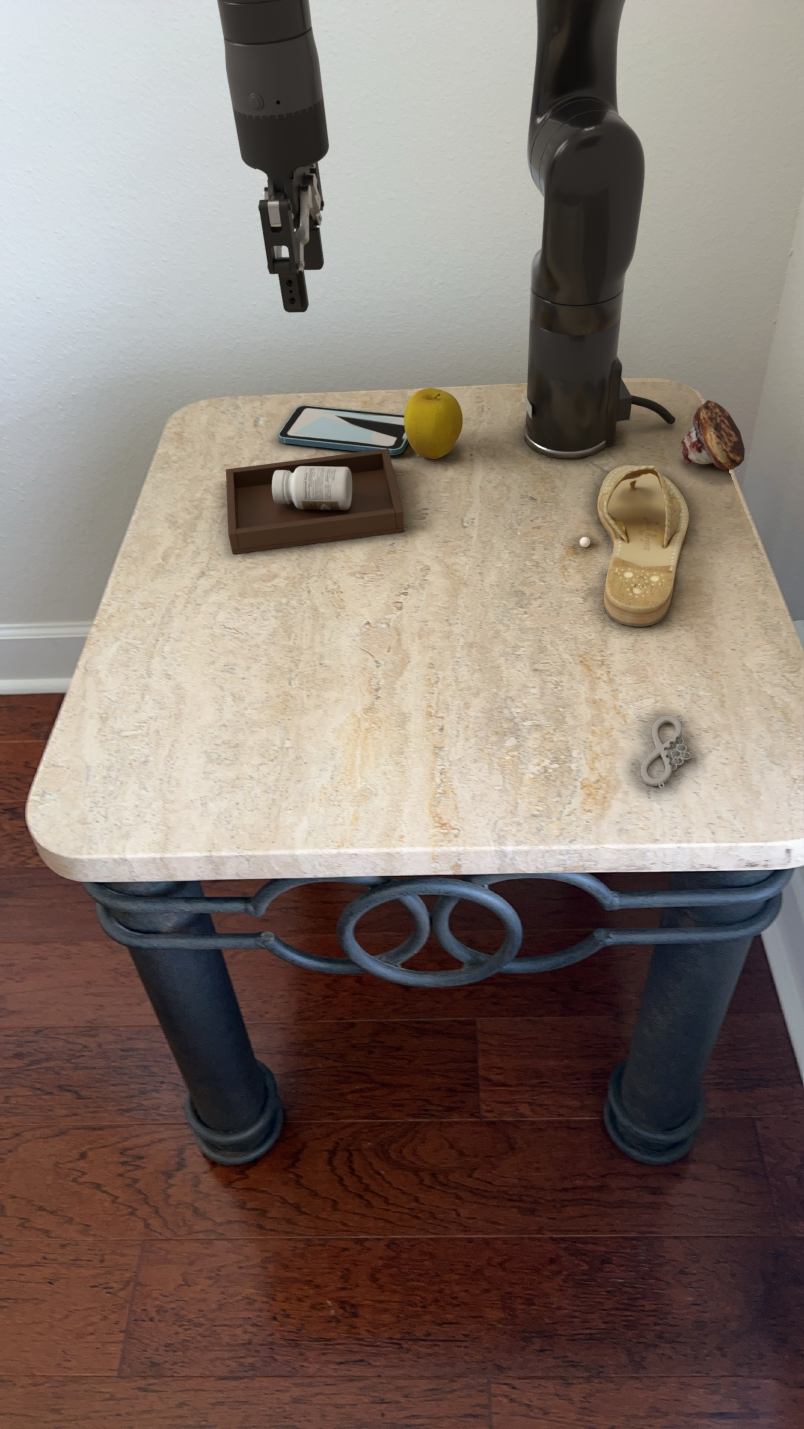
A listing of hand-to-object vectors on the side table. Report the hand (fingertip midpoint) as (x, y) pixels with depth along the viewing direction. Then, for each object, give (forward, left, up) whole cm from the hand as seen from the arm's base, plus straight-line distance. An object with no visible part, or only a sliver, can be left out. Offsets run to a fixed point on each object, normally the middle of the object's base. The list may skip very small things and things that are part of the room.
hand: (305, 288), depth 97 cm
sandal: (-29, +17, -22) cm, 40 cm away
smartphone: (-3, -9, -22) cm, 24 cm away
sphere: (-24, +20, -21) cm, 37 cm away
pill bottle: (-2, +5, -19) cm, 20 cm away
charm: (-22, +43, -21) cm, 53 cm away
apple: (-12, -3, -22) cm, 25 cm away
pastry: (-42, +6, -17) cm, 46 cm away
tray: (+2, +4, -22) cm, 22 cm away
